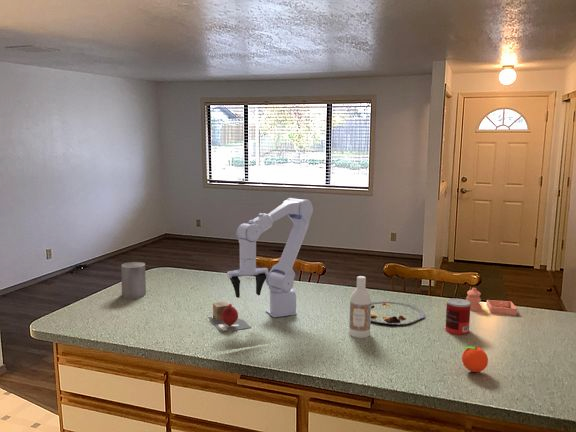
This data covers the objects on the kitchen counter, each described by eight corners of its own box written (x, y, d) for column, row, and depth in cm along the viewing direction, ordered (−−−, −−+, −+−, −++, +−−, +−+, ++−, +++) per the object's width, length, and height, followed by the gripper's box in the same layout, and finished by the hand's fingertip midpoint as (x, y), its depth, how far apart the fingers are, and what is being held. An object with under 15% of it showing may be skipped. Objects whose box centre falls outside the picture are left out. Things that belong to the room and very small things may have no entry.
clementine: (456, 373, 141) (458, 349, 140) (457, 363, 147) (459, 340, 146) (487, 378, 138) (489, 353, 137) (487, 368, 144) (488, 344, 143)
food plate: (394, 334, 171) (394, 324, 171) (343, 316, 189) (343, 307, 188) (435, 318, 188) (435, 309, 187) (385, 303, 205) (385, 295, 205)
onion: (235, 329, 172) (235, 307, 171) (219, 328, 173) (218, 305, 172) (240, 323, 178) (240, 302, 177) (224, 322, 179) (224, 300, 178)
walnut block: (226, 314, 188) (226, 301, 187) (230, 318, 183) (230, 305, 183) (213, 316, 186) (212, 303, 185) (216, 320, 181) (216, 307, 181)
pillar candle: (128, 292, 216) (127, 258, 214) (149, 293, 214) (149, 259, 212) (117, 299, 206) (116, 263, 204) (140, 300, 205) (139, 264, 203)
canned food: (468, 330, 175) (470, 299, 173) (468, 338, 167) (470, 306, 166) (445, 327, 177) (447, 297, 176) (444, 335, 170) (446, 303, 168)
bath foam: (347, 337, 167) (349, 278, 164) (351, 330, 173) (352, 273, 171) (368, 339, 165) (370, 280, 162) (371, 332, 171) (373, 275, 169)
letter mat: (235, 312, 191) (235, 312, 191) (251, 327, 175) (251, 327, 174) (206, 316, 186) (206, 315, 186) (220, 332, 170) (220, 331, 170)
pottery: (510, 311, 196) (512, 287, 194) (516, 319, 186) (518, 294, 185) (462, 308, 199) (463, 284, 198) (465, 316, 190) (466, 290, 189)
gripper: (263, 254, 182) (262, 290, 184) (224, 257, 176) (224, 295, 178) (270, 258, 175) (270, 295, 177) (230, 261, 169) (231, 300, 171)
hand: (248, 295), depth 177 cm, fingers open, 7 cm apart
